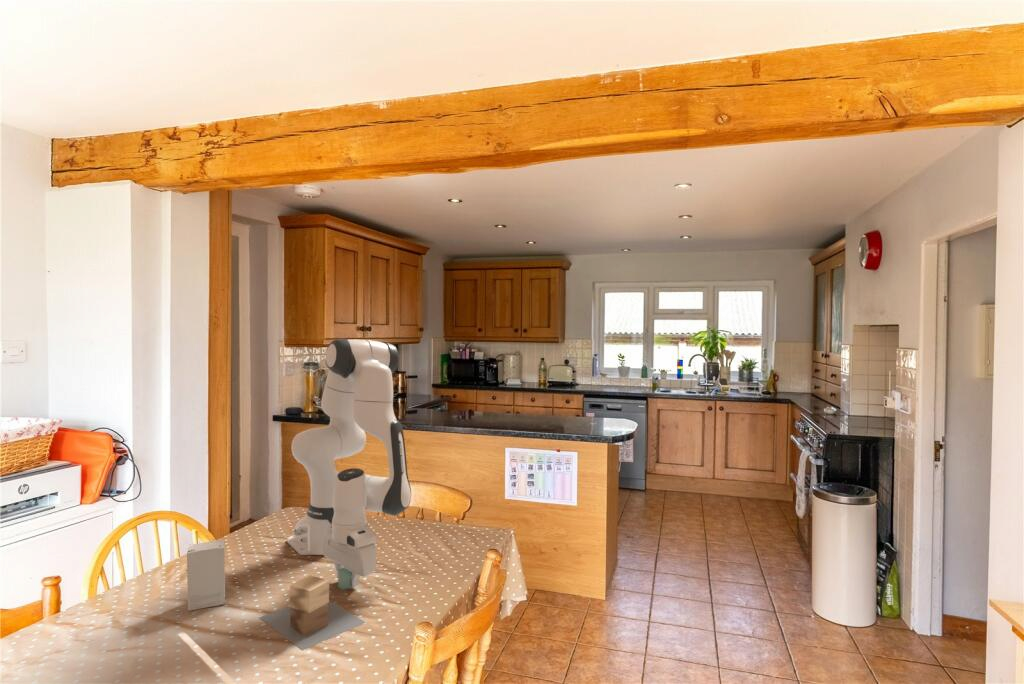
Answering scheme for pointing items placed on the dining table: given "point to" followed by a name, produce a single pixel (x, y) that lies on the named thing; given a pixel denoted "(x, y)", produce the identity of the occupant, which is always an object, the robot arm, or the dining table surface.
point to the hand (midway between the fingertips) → (347, 582)
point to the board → (337, 624)
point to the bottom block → (309, 620)
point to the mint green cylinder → (344, 578)
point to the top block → (309, 594)
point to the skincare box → (206, 574)
